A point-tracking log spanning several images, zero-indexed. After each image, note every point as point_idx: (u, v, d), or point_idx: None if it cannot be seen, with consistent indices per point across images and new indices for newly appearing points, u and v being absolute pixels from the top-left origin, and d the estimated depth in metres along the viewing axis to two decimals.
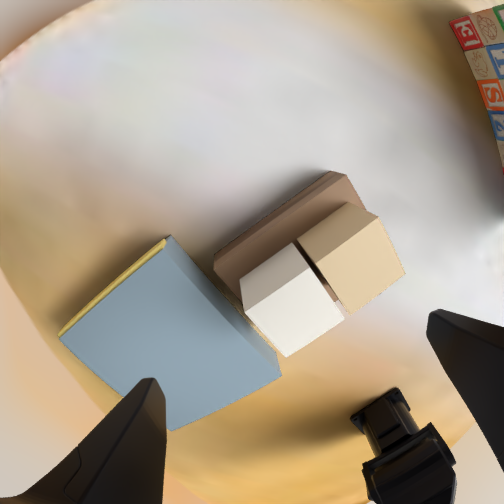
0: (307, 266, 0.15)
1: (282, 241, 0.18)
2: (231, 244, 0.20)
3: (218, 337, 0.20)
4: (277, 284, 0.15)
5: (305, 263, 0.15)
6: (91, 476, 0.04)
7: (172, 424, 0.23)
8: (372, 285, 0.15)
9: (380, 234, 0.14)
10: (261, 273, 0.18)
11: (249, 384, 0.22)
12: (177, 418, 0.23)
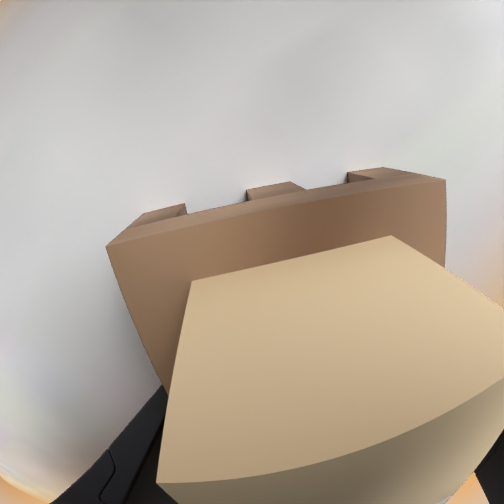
0: None
1: None
2: None
3: None
4: None
5: None
6: (128, 480, 0.04)
7: None
8: (452, 471, 0.03)
9: (273, 491, 0.02)
10: None
11: None
12: None
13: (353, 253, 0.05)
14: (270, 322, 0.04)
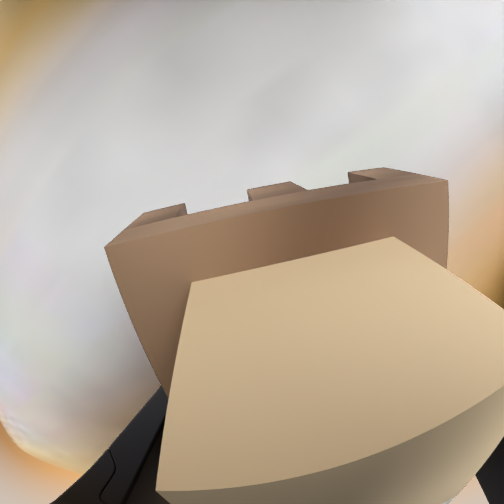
0: None
1: None
2: None
3: None
4: None
5: None
6: (129, 480, 0.04)
7: None
8: (454, 476, 0.02)
9: (276, 497, 0.02)
10: None
11: None
12: None
13: (355, 255, 0.05)
14: (270, 326, 0.04)
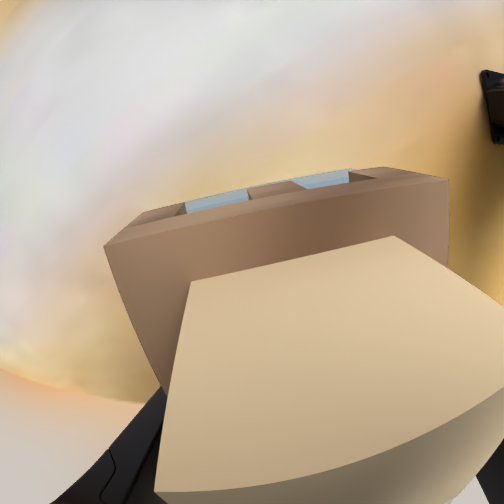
0: None
1: None
2: None
3: None
4: None
5: None
6: (129, 480, 0.04)
7: None
8: (455, 476, 0.02)
9: (276, 498, 0.02)
10: None
11: None
12: None
13: (355, 254, 0.05)
14: (270, 325, 0.04)
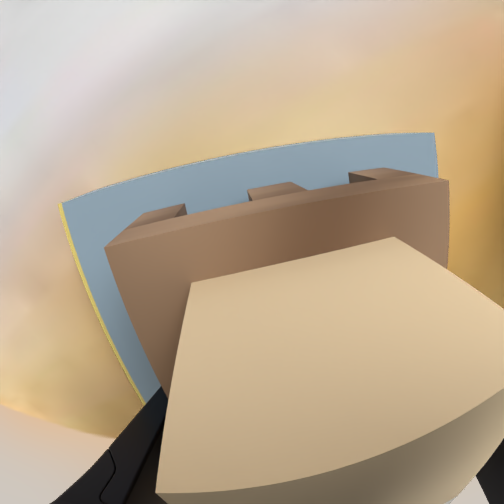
0: None
1: None
2: None
3: None
4: None
5: None
6: (129, 480, 0.04)
7: None
8: (455, 476, 0.02)
9: (276, 500, 0.02)
10: None
11: None
12: None
13: (355, 255, 0.05)
14: (271, 327, 0.04)
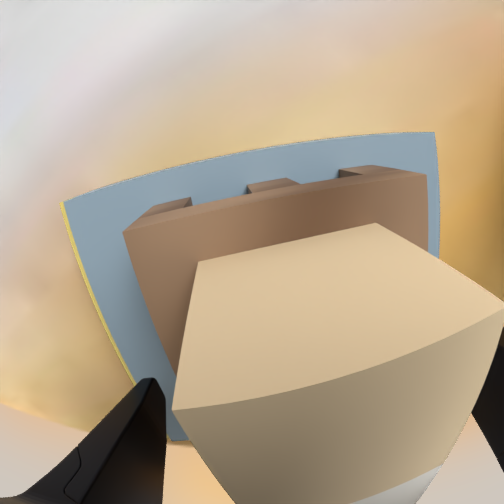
0: None
1: None
2: None
3: None
4: None
5: None
6: (91, 476, 0.04)
7: None
8: (434, 431, 0.03)
9: (270, 420, 0.03)
10: None
11: None
12: None
13: (340, 237, 0.06)
14: (266, 290, 0.05)
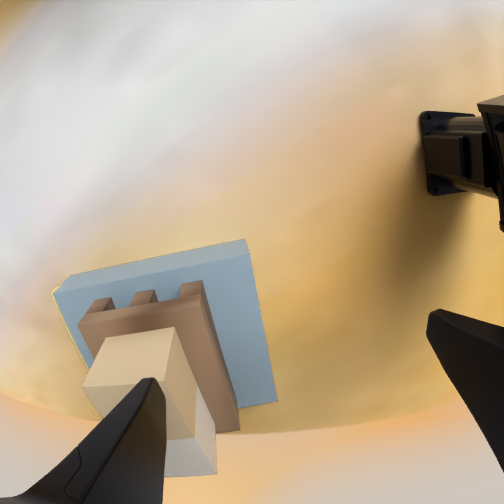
0: None
1: None
2: None
3: None
4: None
5: None
6: (91, 476, 0.04)
7: (266, 395, 0.20)
8: None
9: (102, 392, 0.11)
10: None
11: (241, 295, 0.17)
12: (259, 387, 0.20)
13: (153, 334, 0.14)
14: (115, 356, 0.12)
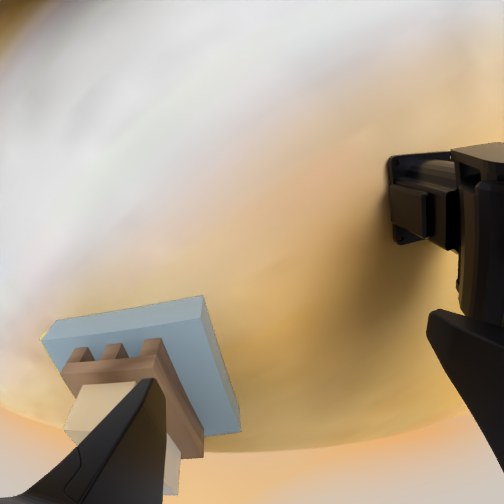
0: None
1: None
2: None
3: None
4: None
5: None
6: (91, 476, 0.04)
7: (230, 427, 0.22)
8: None
9: (77, 434, 0.12)
10: None
11: (197, 350, 0.19)
12: (222, 421, 0.21)
13: (118, 387, 0.15)
14: (88, 404, 0.14)
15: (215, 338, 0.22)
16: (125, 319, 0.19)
